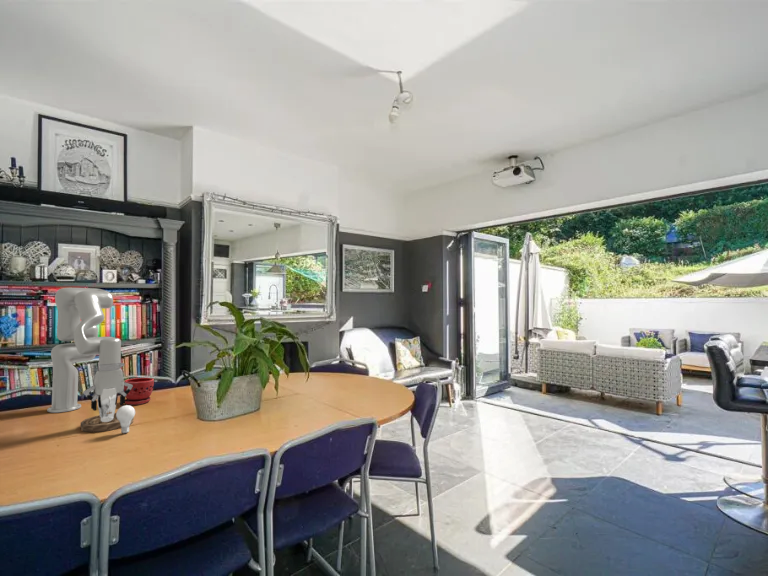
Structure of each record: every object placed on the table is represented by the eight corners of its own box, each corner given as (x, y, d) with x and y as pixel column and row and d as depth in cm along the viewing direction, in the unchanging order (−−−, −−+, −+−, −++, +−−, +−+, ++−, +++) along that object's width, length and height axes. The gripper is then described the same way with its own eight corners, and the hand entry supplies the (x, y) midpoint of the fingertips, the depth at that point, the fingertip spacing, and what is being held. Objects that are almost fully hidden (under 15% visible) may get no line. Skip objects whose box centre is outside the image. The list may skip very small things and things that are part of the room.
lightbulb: (138, 431, 155) (139, 404, 155) (123, 436, 149) (124, 408, 149) (127, 429, 157) (127, 402, 157) (111, 434, 151) (112, 406, 151)
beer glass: (106, 425, 158) (107, 389, 159) (92, 424, 160) (93, 388, 160) (120, 420, 165) (121, 385, 166) (107, 419, 166) (108, 385, 167)
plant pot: (142, 406, 191) (143, 382, 192) (117, 406, 192) (117, 381, 192) (158, 399, 204) (159, 377, 205) (134, 399, 205) (135, 376, 205)
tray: (76, 425, 162) (76, 419, 162) (126, 416, 175) (126, 410, 175) (86, 435, 150) (86, 428, 150) (138, 424, 163) (139, 418, 163)
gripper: (130, 363, 172) (129, 402, 172) (82, 368, 159) (81, 410, 159) (135, 365, 167) (134, 405, 167) (86, 371, 154) (85, 413, 154)
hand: (108, 407), depth 163 cm, fingers open, 9 cm apart
